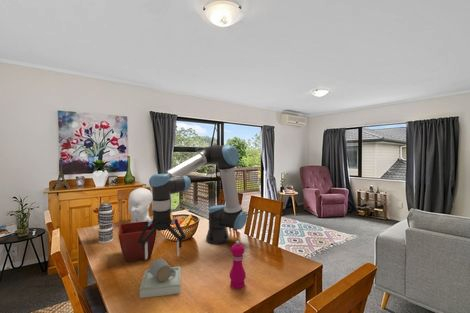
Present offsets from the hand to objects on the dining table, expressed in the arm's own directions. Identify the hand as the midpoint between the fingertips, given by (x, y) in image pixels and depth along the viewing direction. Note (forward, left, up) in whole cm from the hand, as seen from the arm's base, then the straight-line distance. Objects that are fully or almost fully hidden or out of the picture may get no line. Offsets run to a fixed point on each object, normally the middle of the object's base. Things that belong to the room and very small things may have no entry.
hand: (162, 256), depth 106 cm
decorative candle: (+41, -63, -13) cm, 76 cm away
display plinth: (0, 0, -13) cm, 13 cm away
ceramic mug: (0, 0, -10) cm, 10 cm away
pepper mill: (-33, +7, -13) cm, 36 cm away
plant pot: (+16, -34, -13) cm, 40 cm away
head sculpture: (+25, -95, -13) cm, 99 cm away
